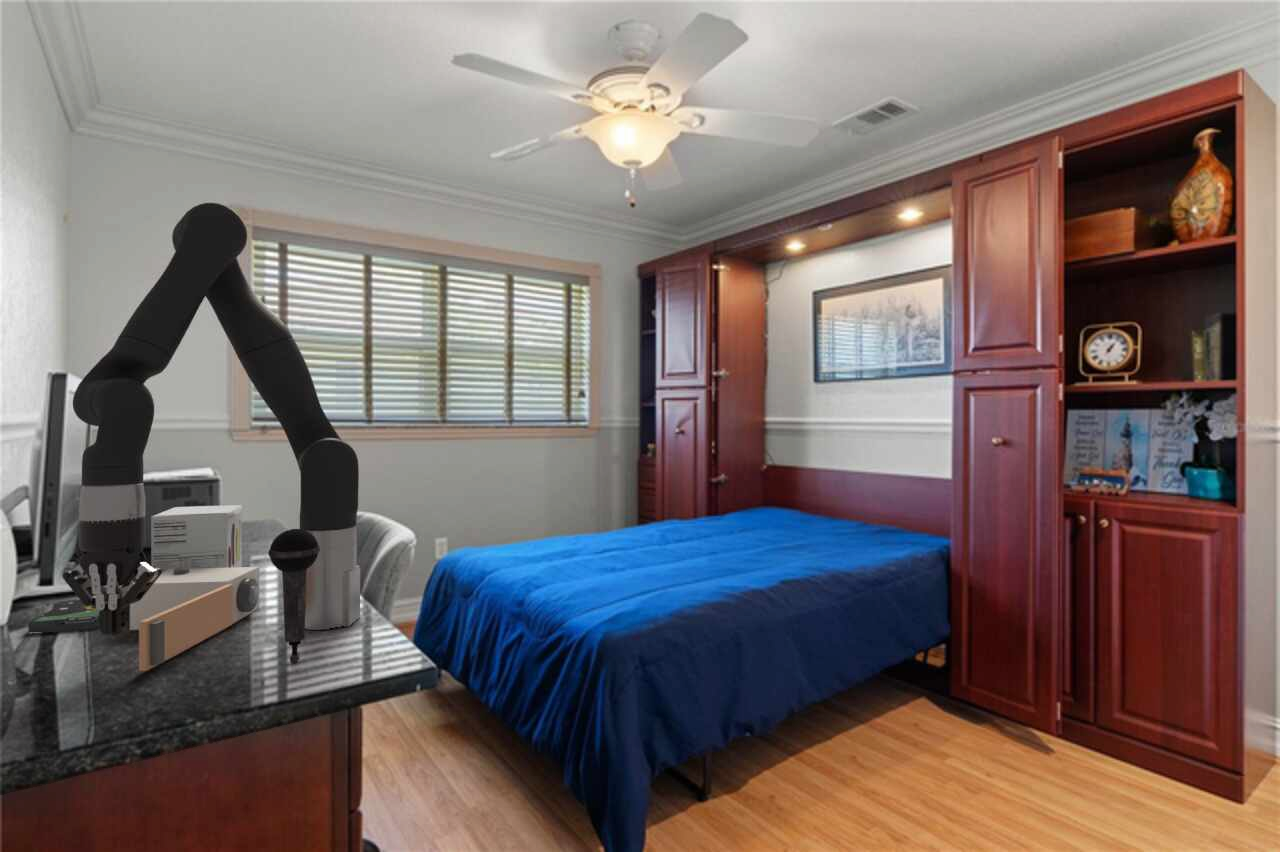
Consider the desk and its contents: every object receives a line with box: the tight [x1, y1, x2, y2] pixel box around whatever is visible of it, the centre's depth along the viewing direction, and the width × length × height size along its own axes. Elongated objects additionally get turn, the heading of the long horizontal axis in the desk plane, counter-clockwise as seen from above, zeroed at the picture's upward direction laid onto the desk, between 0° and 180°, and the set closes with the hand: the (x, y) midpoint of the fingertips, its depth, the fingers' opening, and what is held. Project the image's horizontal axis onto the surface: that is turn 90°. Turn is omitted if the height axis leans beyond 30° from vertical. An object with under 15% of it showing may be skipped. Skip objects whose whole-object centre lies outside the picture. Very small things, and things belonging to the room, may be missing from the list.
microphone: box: [267, 528, 320, 664], centre depth 98 cm, size 7×7×20 cm
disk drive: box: [28, 599, 130, 633], centre depth 120 cm, size 10×3×15 cm
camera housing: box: [129, 566, 260, 631], centre depth 120 cm, size 18×12×9 cm
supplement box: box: [150, 504, 243, 572], centre depth 137 cm, size 17×13×18 cm
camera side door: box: [138, 585, 234, 672], centre depth 104 cm, size 22×2×7 cm, turn 4°
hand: (112, 634), depth 95 cm, fingers closed
